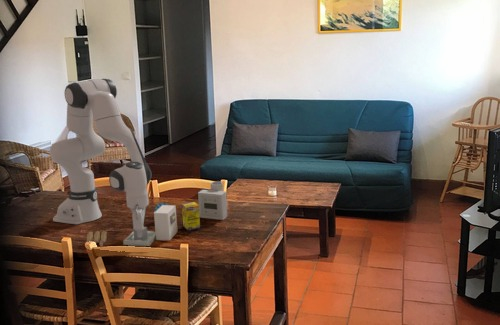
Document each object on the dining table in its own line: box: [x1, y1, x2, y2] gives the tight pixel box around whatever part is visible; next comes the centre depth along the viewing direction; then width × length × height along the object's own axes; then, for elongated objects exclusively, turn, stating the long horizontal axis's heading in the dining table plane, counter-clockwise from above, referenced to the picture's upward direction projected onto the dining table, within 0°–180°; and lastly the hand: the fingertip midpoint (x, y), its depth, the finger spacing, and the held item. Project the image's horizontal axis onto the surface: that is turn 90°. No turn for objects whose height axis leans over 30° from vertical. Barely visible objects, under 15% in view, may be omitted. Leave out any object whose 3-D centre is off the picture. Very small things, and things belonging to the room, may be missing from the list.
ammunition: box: [85, 230, 107, 247], centre depth 218 cm, size 5×7×8 cm
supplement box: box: [181, 201, 201, 232], centre depth 231 cm, size 6×6×11 cm
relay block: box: [132, 225, 148, 241], centre depth 219 cm, size 4×4×6 cm
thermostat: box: [197, 181, 228, 221], centre depth 247 cm, size 12×14×15 cm
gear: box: [154, 202, 169, 212], centre depth 244 cm, size 11×6×10 cm
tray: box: [122, 230, 157, 247], centre depth 220 cm, size 11×11×2 cm
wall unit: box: [153, 204, 178, 241], centre depth 223 cm, size 7×10×12 cm
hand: (140, 232), depth 219 cm, fingers open, 8 cm apart
